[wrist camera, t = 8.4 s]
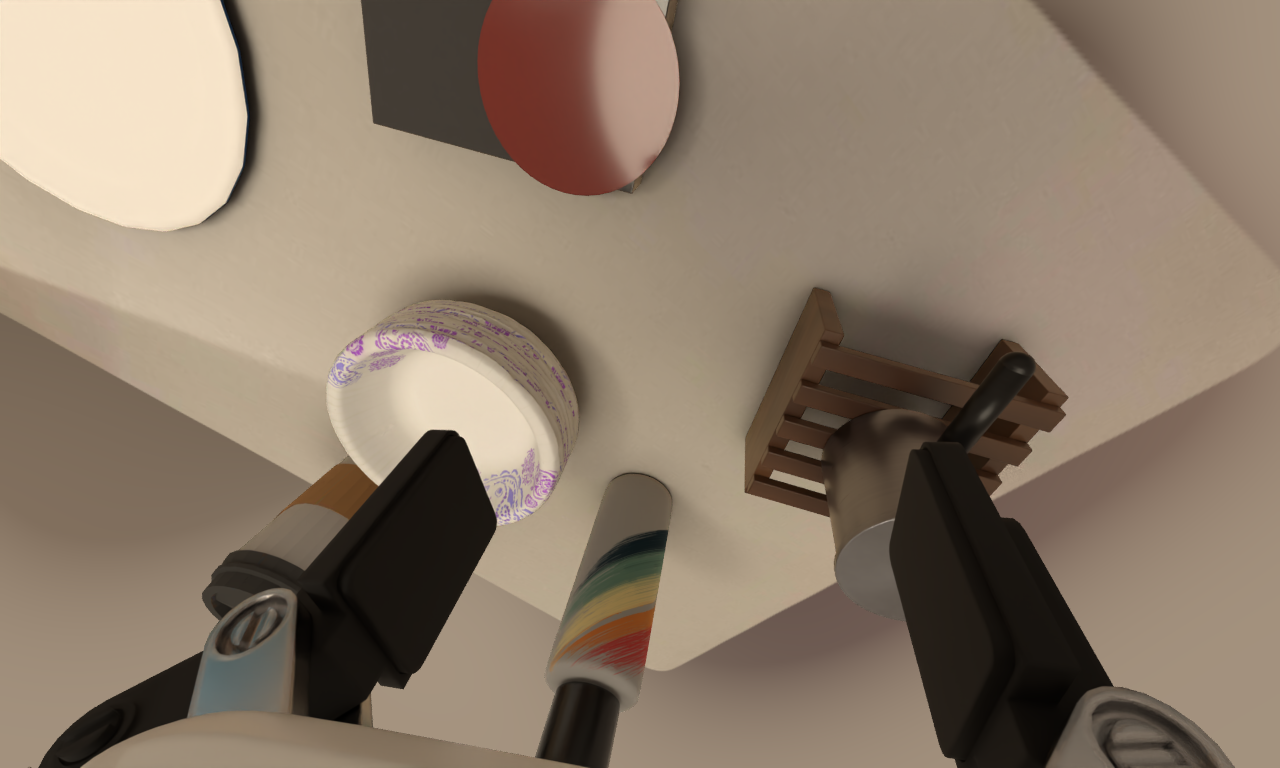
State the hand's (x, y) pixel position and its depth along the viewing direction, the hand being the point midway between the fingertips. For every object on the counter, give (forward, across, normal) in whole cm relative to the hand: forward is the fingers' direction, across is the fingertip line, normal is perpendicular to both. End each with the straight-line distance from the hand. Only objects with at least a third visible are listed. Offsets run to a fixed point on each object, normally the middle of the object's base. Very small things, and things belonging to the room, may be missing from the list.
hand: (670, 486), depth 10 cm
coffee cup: (+20, +30, +19) cm, 41 cm away
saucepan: (+15, -10, +9) cm, 20 cm away
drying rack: (+20, -9, +12) cm, 25 cm away
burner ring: (+18, +6, -7) cm, 20 cm away
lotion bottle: (+21, +8, +22) cm, 31 cm away
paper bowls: (+21, +17, +10) cm, 29 cm away
